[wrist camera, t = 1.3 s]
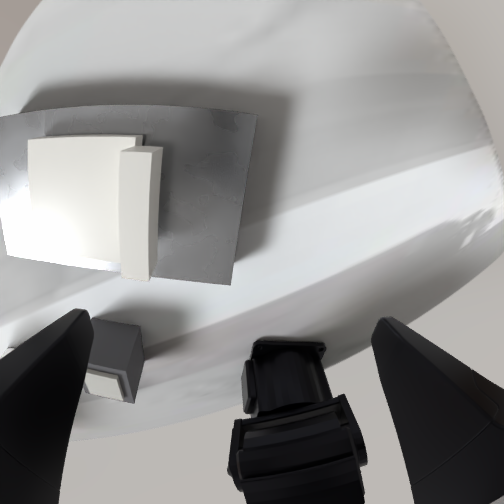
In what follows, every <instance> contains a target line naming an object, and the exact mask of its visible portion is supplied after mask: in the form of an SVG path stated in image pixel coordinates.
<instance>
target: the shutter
mask: <svg viewBox="0 0 504 504" xmlns="http://www.w3.org/2000/svg"><path fill="white" fill-rule="evenodd" d="M142 140H143V135H118V134H91V135H60V136H44V137H37V138H33V139H29V140H28V180H29V195H30V206H31V215H32V223H33V230H34V237H35V243H36V249H37V251H38V252H44V253H51V254H58V255H64V256H71V257H78V258H85V259H93V260H100V261H107V262H115V263H121V275H122V278H124V279H131V280H139V281H146V282H149V280H150V278H151V276H152V273H153V271H154V268H155V266H156V264H157V261H158V214H159V194H160V178H161V165H162V154H163V147H155V146H142Z"/></svg>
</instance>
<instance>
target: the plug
mask: <svg viewBox="0 0 504 504" xmlns="http://www.w3.org/2000/svg"><path fill="white" fill-rule="evenodd" d="M91 322H92V326H93V329H94V340H93V344H92V349H91V353H90V358H89V363H88V368H87V373H86V377H85V381H84V385H83V388H84V390H85V392H86V393H89V394H93V395H97V396H101V397H105V398H109V399H114V400H119V401H123V402H128V403H135V399H136V394H137V390H138V386H139V381H140V377H141V373H142V369H143V365H144V361H145V360H144V353H143V346H142V338H141V329H140V326H136V325H130V324H124V323H118V322H112V321H106V320H101V319H96V318H92V319H91Z"/></svg>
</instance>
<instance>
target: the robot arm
mask: <svg viewBox="0 0 504 504" xmlns="http://www.w3.org/2000/svg"><path fill="white" fill-rule="evenodd" d="M93 340H94V329H93V326H92V322H91V319H90V316H89V313H88V311H87V310H85V309H78V308H75V309H73V310H72V311H70V312H68V313H67V314H65V315H64V316H62V317H61V318H59V319H58V320H56V321H55V322H53V323H52V324H50V325H49V326H47V327H46V328H44V329H43V330H41V331H40V332H38V333H37V334H35V335H34V336H32V337H31V338H30V339H28V340H27V341H25V342H24V343H22V344H21V345H19V346H18V347H17V348H15V349H14V350H12V351H11V352H9V353H8V354H7V355H5V356H4V357H2V358H1V359H0V504H58V503H59V495H60V491H59V490H60V487H61V480H62V473H63V467H64V462H65V457H66V452H67V447H68V443H69V438H70V434H71V429H72V425H73V421H74V417H75V413H76V409H77V406H78V402H79V398H80V395H81V391H82V388H83V385H84V381H85V377H86V373H87V368H88V363H89V358H90V353H91V349H92V344H93ZM371 343H372V347H373V351H374V355H375V360H376V364H377V368H378V373H379V377H380V381H381V384H382V387H383V391H384V394H385V396H386V399H387V403H388V406H389V408H390V412H391V415H392V419H393V422H394V425H395V428H396V432H397V435H398V439H399V442H400V446H401V449H402V453H403V457H404V460H405V464H406V469H407V472H408V476H409V481H410V484H411V490H412V494H413V499H414V504H504V389H503V388H501V387H499V386H498V385H496V384H494V383H493V382H491V381H489V380H487V379H486V378H485V377H483V376H482V375H480V374H479V373H477V372H476V371H474V370H471V369H470V367H468V366H467V365H465V364H463V363H462V362H461V361H459V360H458V359H456V358H455V357H453V356H452V355H450V354H449V353H447V352H446V351H444V350H443V349H441V348H439V347H438V346H436V345H435V344H433V343H432V342H430V341H429V340H427V339H426V338H424V337H423V336H421V335H420V334H418V333H416V332H415V331H413V330H412V329H410V328H409V327H407V326H406V325H404V324H403V323H401V322H400V321H398V320H396V319H395V318H393V317H382V318H380V319H379V320H378V323H377V325H376V327H375V330H374V332H373V334H372V338H371ZM258 346H260V347H258ZM325 351H326V346H325V344H324V343H319V342H279V341H256V342H254V343H253V346H252V351H251V355H250V359H249V360H246V361H245V364H244V368H243V373H242V377H241V380H242V396H243V410H244V412H245V413H246V414H251V418H249V419H243V420H242V419H237V420H235V421H234V428H233V429H232V438H231V445H230V454H229V462H228V468H227V472H228V474H229V475H230V476H231V477H232V478H233V481H234V484H235V486H236V487H237V489H238V490H239V491H240V492H244V496H245V499H246V503H247V504H364V503H365V500H364V494H365V491H364V486H363V481H362V476H361V471H360V467H362V466H365V465H367V462H368V461H367V453H366V447H365V443H364V440H363V436H362V433H361V430H360V428H359V425H358V423H357V421H356V419H355V417H354V414H353V412H352V410H351V408H350V405H349V403H348V401H347V398H346V396H345V394H341V395H338V397H335V398H333V397H332V393H331V390H330V387H329V384H328V381H327V378H326V375H325V372H324V369H323V366H322V363H321V359H322V357H323V355H324V353H325Z"/></svg>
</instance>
